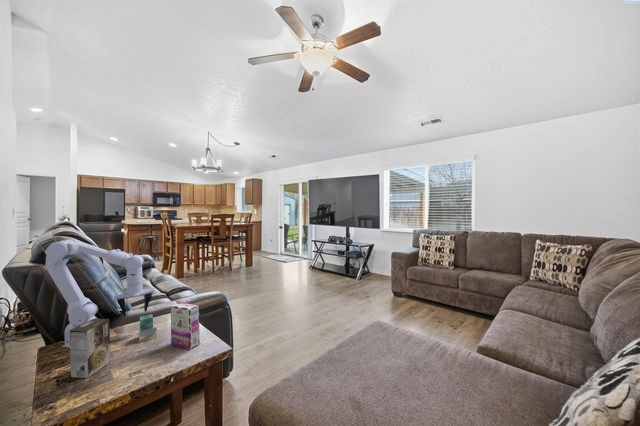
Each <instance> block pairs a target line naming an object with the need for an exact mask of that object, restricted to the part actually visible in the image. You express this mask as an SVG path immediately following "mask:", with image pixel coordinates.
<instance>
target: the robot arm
mask: <svg viewBox="0 0 640 426" xmlns="http://www.w3.org/2000/svg"><path fill="white" fill-rule="evenodd" d="M44 253H45V255H46V256H45V266H44V267H45V269H46V271H47V272H48V274H49V275H50V277H51V279H52V281H53V282H54V284H55V285H56V287H57V289H58V290H59V292H60V294H61V295H62V297H63V298H64V301H66V304H67V309H66V312H67V314H68V322H69V324H67V325H66V327H65V328H64V345H62V348H65V347H66V348H67V349H68V348H69V349H70V330H71V329H74V328H76V327H78V326H80V325H82V324H84V323H86V322H88V321H90V320H92V319H96V316H95V315H96V314H97V312H98V310H99V308H98V305H97V304H95V303H94V302H92V300H91V299H90V298H88V297H85V296H84V293H83V291H82V290H81V288H80V287H79V285H78V284H77V281H76V280H75V278H74V276H73V275H72V273H71V271H70V270H69V268H68V266H67V263H68V261H70V258H71V257H72V256H73V255H78V254H84V255H89V256H94V257H98V258H102V259H104V260H105V262H106V263H108V264H112V265H113V264H114V265H116V266H120V267H123V268H125V270H126V292H125V293H121V294H116V295H113V302H117V304H118V306H119V307H120V309H121V311H122V315H123V317H126V299H133V298H138V297H144V306H143V310H144V312H145V313H147V311H148V307H149V303H150V301H151V299H152V297H153V295H155V289H154V288H150V289H144V288H143V287H144V285H143V283H144V280H143V277H144V276H143V265H144V262H145V260H144V258H143V256H141V255H139V254H133V253H131V252H130V253H129V252H124V251H122V250H121V249H119V248H117V249H112V250H107V249H104V248H100V247H98V246H95V245H92V244H89V243H86V242H84V241H80V240H75V239H72V238H71V239H70V238H69V239H65V240H61V241H54V242H52V243H51V244H49V245H48V246H47V248H46V249H45V251H44Z"/></svg>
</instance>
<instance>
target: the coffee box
mask: <svg viewBox="0 0 640 426" xmlns="http://www.w3.org/2000/svg"><path fill="white" fill-rule="evenodd" d="M110 332H111V331H110V319H109V318H95V319H92V320H90V321H88V322H86V323H84V324H82V325H80V326H78V327H76V328H74V329H71V330H70V348H69V349H70V351H69V353H70V360H69V361H70V377H71V378H90V377H91V376H92V375H94V374H96V373H97V372H98V371H100V370H101V369H103V368H104V367H105V366H107V365H108V364H109V363H111V362H112V359H111V336H110V335H111V333H110Z"/></svg>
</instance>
